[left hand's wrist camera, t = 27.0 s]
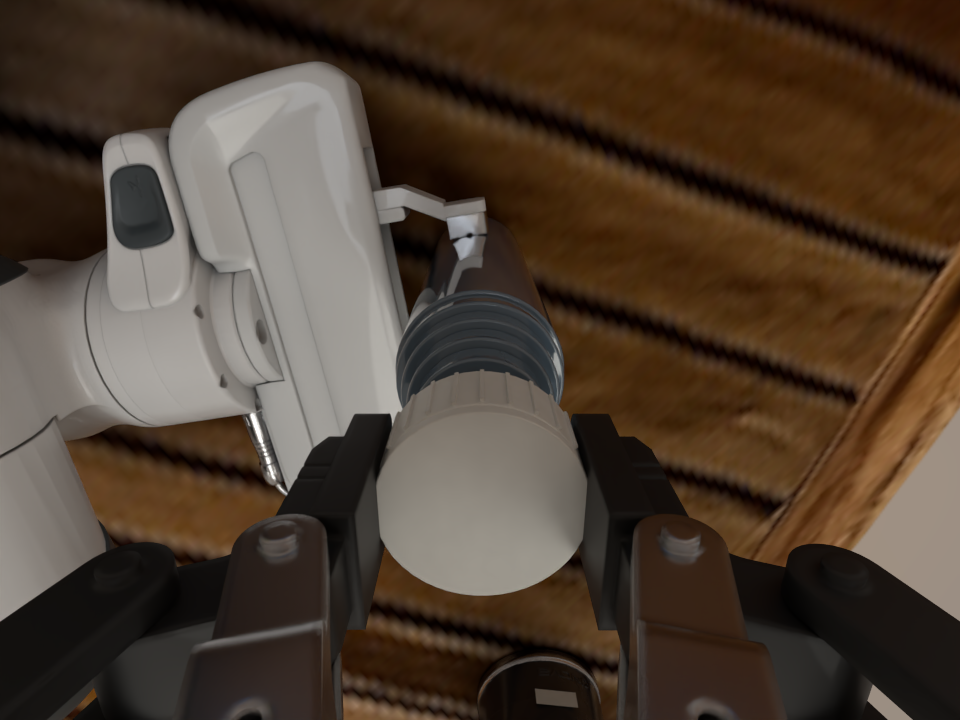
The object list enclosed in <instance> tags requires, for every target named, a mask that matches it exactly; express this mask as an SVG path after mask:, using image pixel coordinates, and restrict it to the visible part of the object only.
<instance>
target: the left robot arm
mask: <svg viewBox="0 0 960 720" xmlns="http://www.w3.org/2000/svg"><path fill="white" fill-rule="evenodd" d="M571 426H572V429H573V432H574V435H575V438H576V441H577V444H578V450H579V453H580V456H581V460H582V463H583V466H584V469H585V472H586V475H587V494H586V506H585V519H584V532H583V540H582V542H581V543H580V545H579V551H580V556H581V560H582V564H583V568H584V572H585V576H586V580H587V585H588V589H589V593H590V597H591V601H592V605H593V609H594V614H595V618H596V622H597V626H598V630H617V631H618V635H619V638H620V642H621V645H620V653H619V662H618V687H617V720H887V719H886V718H885V717H884V716H883V715H882V714H881V713H880V712H879V711H878V710H877V709H875V708H874V707H873V706H872V705H871V704H870V703H869V702H868V701H867V700H868V697H869V694H870V691H871V688H872V685H875V686H876V687H877V688H878V689H879V690H880V691H881V692H882V693H884V694H885V695H886V696H887V697H888V698H889V699H890V700H891V701H893V702H894V703H895V704H896V705H897V706H898V707H899V708H900V709H902V710H903V711H904V712H905V713H906V714H907V715H908V716H909V717H910V718H912V719H913V720H960V621H958V620H957V619H956V618H954V617H953V616H951V615H950V614H948V613H947V612H945V611H944V610H942V609H941V608H940V607H938V606H937V605H935V604H934V603H932V602H931V601H929V600H928V599H926V598H925V597H924V596H922V595H921V594H919V593H918V592H916V591H915V590H913V589H912V588H911V587H909V586H908V585H906V584H905V583H903V582H902V581H900V580H899V579H897V578H896V577H895V576H893V575H892V574H890V573H889V572H887V571H886V570H884V569H883V568H881V567H880V566H879V565H877V564H876V563H874V562H872V561H871V560H869V559H867V558H865V557H863V556H861V555H859V554H857V553H855V552H852V551H850V550H847V549H844V548H840V547H836V546H832V545H826V544H806V545H801V546H799V547H796V548H795V549H793V550H792V551H791V552H790V554H789V556H788V559H787V564H786V567H781V566H777V565H772V564H767V563H763V562H758V561H754V560H749V559H745V558H741V557H738V556H735V555H733V554H730V553H729V552H728V548H727V545H726V543H725V541H724V540H723V538H722V537H721V536H720V535H719V534H718V533H717V532H716V531H715V530H713V529H712V528H711V527H709V526H708V525H706V524H704V523H702V522H700V521H698V520H695V519H693V518H689V516H688V514H687V513H686V511H685V509H684V507H683V505H682V504H681V502H680V500H679V498H678V496H677V495H676V493H675V491H674V489H673V487H672V486H671V484H670V482H669V480H667V479H666V475H665V473H664V471H663V469H662V468H661V467H660V464H659V462H658V460H657V459H656V457H655V455H654V453H653V451H652V450H651V449H650V448H649V447H647V446H646V445H645V444H643V443H642V442H641V441H639V440H638V439H637V438H635V437H619V435H618V433H617V431H616V428H615V426H614V424H613V422H612V420H611V418H610V416H609V414H573V415H572V418H571ZM391 430H392V418H391V415H390V414H354V416H353V418H352V420H351V422H350V424H349V427H348V429H347V431H346V433H345V435H344V436H329V437H327V438H326V439H325V440H323V441H322V442H321V443H319V444H318V445H317V446H315V447H314V448H313V449H312V450H311V452H310V453H309V455H308V457H307V459H306V461H305V463H304V467H302V468H301V470H300V472H299V474H298V475H297V479H295V481H294V483H293V485H292V486H291V488H290V490H289V492H288V494H287V496H286V497H285V499H284V501H283V503H282V505H281V507H280V508H279V510H278V512H277V514H276V516H274V517H271V518H267V519H265V520H262V521H260V522H258V523H256V524H254V525H252V526H251V527H249V528H248V529H247V530H245V531H244V532H243V533H242V534H241V535H240V536H239V537H238V538H237V540H236V541H235V543H234V545H233V548H232V552H231V554H230V555H227V556H224V557H220V558H217V559H212V560H208V561H203V562H198V563H194V564H189V565H185V566H180V567H177V566H176V562H175V557H174V554H173V552H172V551H171V549H169V548H168V547H167V546H165V545H162V544H159V543H152V542H141V543H133V544H128V545H124V546H120V547H117V548H114V549H111V550H109V551H106V552H104V553H102V554H100V555H98V556H96V557H94V558H92V559H91V560H89V561H87V562H86V563H84V564H83V565H81V566H80V567H78V568H77V569H76V570H74V571H73V572H71V573H70V574H68V575H67V576H65V577H64V578H63V579H61V580H60V581H58V582H57V583H55V584H54V585H52V586H51V587H49V588H48V589H47V590H45V591H44V592H42V593H41V594H39V595H38V596H36V597H35V598H33V599H32V600H31V601H29V602H28V603H26V604H25V605H23V606H22V607H20V608H19V609H18V610H16V611H15V612H13V613H12V614H10V615H9V616H7V617H6V618H4V619H3V620H2V621H0V720H47V719H48V718H50V717H51V716H52V715H53V714H54V713H55V712H56V711H57V710H59V709H60V708H61V707H62V706H63V705H64V704H65V703H66V702H68V701H69V700H70V699H71V698H72V697H73V696H74V695H75V694H77V693H78V692H79V691H80V690H81V689H82V688H83V687H84V686H86V685H87V684H88V683H89V682H90V681H91V680H92V683H93V686H94V689H95V692H96V695H97V697H96V698H95V699H94V700H93V701H92V702H91V703H90V704H89V705H88V706H87V707H86V708H85V709H83V710H82V711H81V712H80V713H79V714H78V715H77V716H76V717H75V718H74V719H73V720H344V719H343V687H342V662H341V653H340V651H341V648H342V645H343V642H344V638H345V634H346V631H347V629H366V624H367V620H368V616H369V612H370V607H371V603H372V599H373V594H374V590H375V586H376V582H377V577H378V573H379V569H380V565H381V560H382V556H383V552H384V547H385V544H384V543H383V541H382V539H381V537H380V529H379V516H378V503H377V490H376V480H377V477H378V473H379V470H380V464H381V461H382V458H383V454H384V451H385V448H386V444H387V441H388V438H389V435H390V432H391ZM477 707H478V714H479V720H604V719H603V715H602V710H601V706H600V695H599V690H598V686H597V682H596V679H595V677H594V675H593V673H592V672H591V670H590V669H589V668H588V667H587V666H586V665H585V664H584V663H583V662H581V661H580V660H578V659H577V658H575V657H573V656H571V655H568V654H566V653H563V652H559V651H554V650H546V649H535V650H527V651H522V652H518V653H515V654H512V655H509V656H507V657H505V658H503V659H501V660H500V661H498V662H497V663H495V664H494V665H493V666H492V667H490V668H489V669H488V671H487V672H486V673H485V674H484V676H483V677H482V679H481V681H480V684H479V687H478V693H477Z"/></svg>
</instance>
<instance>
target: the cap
mask: <svg viewBox="0 0 960 720" xmlns="http://www.w3.org/2000/svg"><path fill="white" fill-rule="evenodd" d="M376 490H377V503H378V516H379V529H380V537H381V539H382V541H383V543H384V544H385V546H386V548H387V549H388V551H389V552H390V553H391V555H392V556H393V557H394V559H395V560H396V561H397V562H398V563H399V564H400V565H401V566H402V567H403V568H405V569H406V570H407V571H409V572H410V573H411V574H412V575H414V576H416V577H417V578H419V579H421V580H422V581H424V582H426V583H428V584H430V585H432V586H435V587H437V588H440V589H443V590H446V591H450V592H454V593H459V594H466V595H476V596H489V595H499V594H505V593H510V592H515V591H518V590H521V589H524V588H527V587H529V586H532V585H534V584H536V583H539V582H540V581H542V580H544V579H546V578H547V577H549V576H550V575H552V574H553V573H554V572H556V571H557V570H558V569H560V568H561V567H562V566H563V565H564V564H565V563H566V562H567V561H568V560H569V559H570V558H571V556H572V555H573V554H574V553H575V551H576V550H577V548H578V547H579V545H580V543H581V542H582V540H583V532H584V519H585V506H586V494H587V475H586V472H585V469H584V466H583V463H582V460H581V456H580V453H579V450H578V444H577V441H576V438H575V435H574V432H573V429H572V426H571V423H570V420H569V416H568V414H567V412H566V411H565V412H563V411H562V410H561V408H560V407H559V406H558V404H557V403H556V402H555V401H554V398H553V396H552V395H551V394H549V395H548V394H547V393H545V392H544V391H543V390H541V389H540V388H538V387H537V386H535V385H534V384H533V382H532V381H530V380H529V382H528V381H526V380H523V379H521V378H518V377H516V376H512V375H510V373H508V372H505V373H499V372H491V371H484V369H480V371H474V372H465V373H460V374H459V372H456V373H454V375H452V376H449V377H446V378H443V379H441V380H438V381H436V382H435V381H432V382H431V384H430V385H429V386H427V387H426V388H424V389H423V390H422V391H420V392H419V393H417V394H416V395H415V394H413V395H412V396H411V398H410V401H409V402H408V403H407V405H406V406H405V407H404V408H403V409H402V411H401V412H399V411H398V412H397V414H396V417H395V420H394V423H393V426H392V430H391V432H390V435H389V438H388V441H387V444H386V448H385V451H384V454H383V458H382V461H381V464H380V470H379V473H378V477H377V480H376Z"/></svg>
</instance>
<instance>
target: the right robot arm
mask: <svg viewBox="0 0 960 720" xmlns="http://www.w3.org/2000/svg"><path fill="white" fill-rule="evenodd" d="M102 162H103V177H104V188H105V202H106V218H107V249H104V250H102V251H100V252H99V253H97V254H95V255H93V256H91V257H89V258H86V259H84V260H80V261H63V260H56V259H34V260H26V261H20V262H16V261H14V260H12V259H10V258H7V257H5V256H2V255H0V621H2V620H3V619H4V618H6V617H7V616H9V615H10V614H12V613H13V612H15V611H16V610H18V609H19V608H20V607H22V606H23V605H25V604H26V603H28V602H29V601H31V600H32V599H33V598H35V597H36V596H38V595H39V594H41V593H42V592H44V591H45V590H47V589H48V588H49V587H51V586H52V585H54V584H55V583H57V582H58V581H60V580H61V579H63V578H64V577H65V576H67V575H68V574H70V573H71V572H73V571H74V570H76V569H77V568H78V567H80V566H81V565H83V564H84V563H86V562H87V561H89V560H91V559H92V558H94V557H96V556H98V555H100V554H102V553H104V552H106V551H109V550H111V549H114V548H116V547H115V545H114V544H113V542H112V540H111V538H110V536H109V535H108V533H107V531H106V529H105V527H104V526H103V525H102V524H101V522H100V521H99V520H98V519H97V517H96V515H95V513H94V510H93V508H92V506H91V503H90V501H89V499H88V496H87V494H86V491H85V489H84V487H83V484H82V482H81V480H80V477H79V475H78V473H77V470H76V468H75V465H74V463H73V461H72V458H71V456H70V454H69V451H68V449H67V447H66V444H65V442H64V441H69V440H75V439H80V438H84V437H88V436H92V435H94V434H97V433H99V432H101V431H103V430H105V429H107V428H110V427H112V426H115V425H120V424H129V425H135V426H142V427H161V426H168V425H175V424H182V423H188V422H195V421H202V420H208V419H215V418H222V417H228V416H235V415H242V418H243V420H244V423H245V426H246V429H247V432H248V435H249V437H250V440H251V442H252V444H253V446H254V447H255V450H256V451H257V454H258V457H259V460H260V463H259V465H260V469H261V472H262V475H263V477H264V479H265V481H266V482H267V483H268V485H275V486H276V488H277V489H278V490H279V491H280V492H281V493H282V494H283V495H285V496H287V494H288V492H289V490H290V488H291V486H292V485H293V483H294V481H295V479H297V475H298V474H299V472H300V470H301V468H302V467H304V463H305V461H306V459H307V457H308V455H309V453H310V452H311V450H312V449H313V448H314V447H315V446H317V445H318V444H319V443H321V442H322V441H323V440H325V439H326V438H327V437H329V436H344V435H345V433H346V431H347V429H348V427H349V424H350V422H351V420H352V418H353V416H354V414H390V415H391V418H392V426H393V423H394V420H395V417H396V414H397V412H398V411H399V412H401V411H402V407H401V404H400V401H399V398H398V393H397V388H396V370H395V365H396V355H397V351H398V347H399V344H400V341H401V339H402V336H403V334H404V331H405V328H406V326H407V323H408V320H409V314H408V309H407V304H406V300H405V295H404V290H403V286H402V281H401V276H400V272H399V267H398V262H397V258H396V253H395V248H394V243H393V239H392V234H391V229H390V225H389V223H392V222H397V221H403V220H404V219H405V218H406V217H407V216H408V215H409V213H410V208H411V209H413V210H416V211H419V212H421V213H424V214H427V215H430V216H432V217H435V218H438V219H441V220H443V221H446V220H447V225H448V230H449V235H450V240H451V239H457V238H462V237H466V236H467V235H468V234H469V233H471V234H473V235H482V234H486V233H488V232H489V225H488V218H487V211H486V205H485V199H484V197H476V198H470V199H464V200H458V201H452V202H446V201H445V200H444V199H442V198H439V197H437V196H434V195H432V194H429V193H427V192H424V191H422V190H419V189H416V188H414V187H411V186H409V185H406V184H403V185H397V186H391V187H385V188H382V187H381V182H380V178H379V173H378V168H377V164H376V159H375V154H374V150H373V145H372V140H371V135H370V131H369V126H368V121H367V117H366V112H365V107H364V103H363V98H362V93H361V89H360V87H359V85H358V83H357V82H356V81H355V80H354V79H352V78H351V77H350V76H349V75H347V74H346V73H345V72H343V71H342V70H340V69H339V68H337V67H335V66H334V65H332V64H329V63H325V62H318V61H314V62H306V63H301V64H295V65H291V66H287V67H283V68H278V69H274V70H271V71H267V72H264V73H260V74H257V75H253V76H250V77H247V78H244V79H241V80H238V81H235V82H233V83H230V84H227V85H224V86H222V87H219V88H217V89H214V90H212V91H209V92H207V93H205V94H202V95H200V96H198V97H197V98H195V99H194V100H192V101H191V102H189V103H188V104H186V105H185V106H184V107H183V108H182V109H181V110H180V111H179V113H178V114H177V115H176V117H175V119H174V121H173V123H172V125H171V128H151V129H142V130H135V131H130V132H126V133H122V134H118V135H115V136H113V137H111V138H109V139H108V140H107V141H106V143H105V145H104V148H103V155H102ZM283 481H285V484H286V486H285V485H284V484H283ZM93 688H94V686H93V683H92V680H91V681H90V682H89V683H88V684H87V685H86V686H84V687H83V688H82V689H81V690H80V691H79V692H78V693H77V694H75V695H74V696H73V697H72V698H71V699H70V700H69V701H68V702H66V703H65V704H64V705H63V706H62V707H61V708H60V709H59V710H57V711H56V712H55V713H54V714H53V715H52V716H51V717H50V718H48V719H47V720H62V719H64V718H65V717H66V716H67V715H68V714H69V713H70V712H71V711H72V710H73V709H75V708H76V707H77V706H78V705H79V704H80V703H81V701H82V700H83V699H84V698H85V697H86V696H87V695H88V694H89V693H90V692H91V690H92V689H93Z"/></svg>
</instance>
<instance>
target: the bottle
mask: <svg viewBox="0 0 960 720" xmlns="http://www.w3.org/2000/svg"><path fill="white" fill-rule="evenodd" d="M487 218H488V217H487ZM488 225H489V232H488V233H486V234H482V235H473V234H471V233H469V234H468V235H467V236H466V237H462V238H457V239H451V240H450V235H449V230H448V229H447V230H446V231H445V232H444V233H443V235H442V236H441V238H440V240H439V242H438V244H437V247H436V249H435V252H434V255H433V257H432V260H431V263H430V265H429V268H428V270H427V273H426V276H425V278H424V281H423V284H422V286H421V289H420V292H419V294H418V297H417V299H416V302H415V305H414V307H413V310H412V313H411V315H410V318H409V320H408V323H407V326H406V328H405V331H404V334H403V336H402V339H401V341H400V344H399V347H398V351H397V355H396V365H395V370H396V388H397V393H398V398H399V401H400V404H401V407H402V409H403V408H404V407H405V406H406V405H407V403H408V402H409V401H410V398H411V396H412V395H413V394H415V395H416V394H417V393H419V392H420V391H422V390H423V389H424V388H426V387H427V386H429V385H430V384H431V382H432V381H435V382H436V381H438V380H441V379H443V378H446V377H449V376H452V375H454V373H456V372H459V374H460V373H465V372H474V371H480V369H484V371H491V372H499V373H505V372H508V373H510V375H512V376H516V377H518V378H521V379H523V380H526V381H528V382H529V380H530V381H532V382H533V384H534V385H535V386H537V387H538V388H540V389H541V390H543V391H544V392H545V393H547V394H548V395H549V394H551V395H552V396H553V398H554V401H555V402H556V403H557V404H558V406H559V404H560V401H561V398H562V393H563V388H564V357H563V352H562V348H561V345H560V342H559V339H558V337H557V334H556V332H555V330H554V327H553V325H552V323H551V320H550V318H549V316H548V313H547V311H546V309H545V306H544V304H543V301H542V299H541V297H540V294H539V292H538V290H537V287H536V285H535V283H534V280H533V278H532V276H531V273H530V271H529V269H528V266H527V264H526V262H525V259H524V257H523V254H522V252H521V250H520V247H519V245H518V243H517V241H516V239H515V237H514V235H513V234H512V233H511V231H510V230H509V229H508V228H507V227H505V226H504V225H503V224H502V223H500V222H498V221H496V220H494V219H491V218H488Z"/></svg>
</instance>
